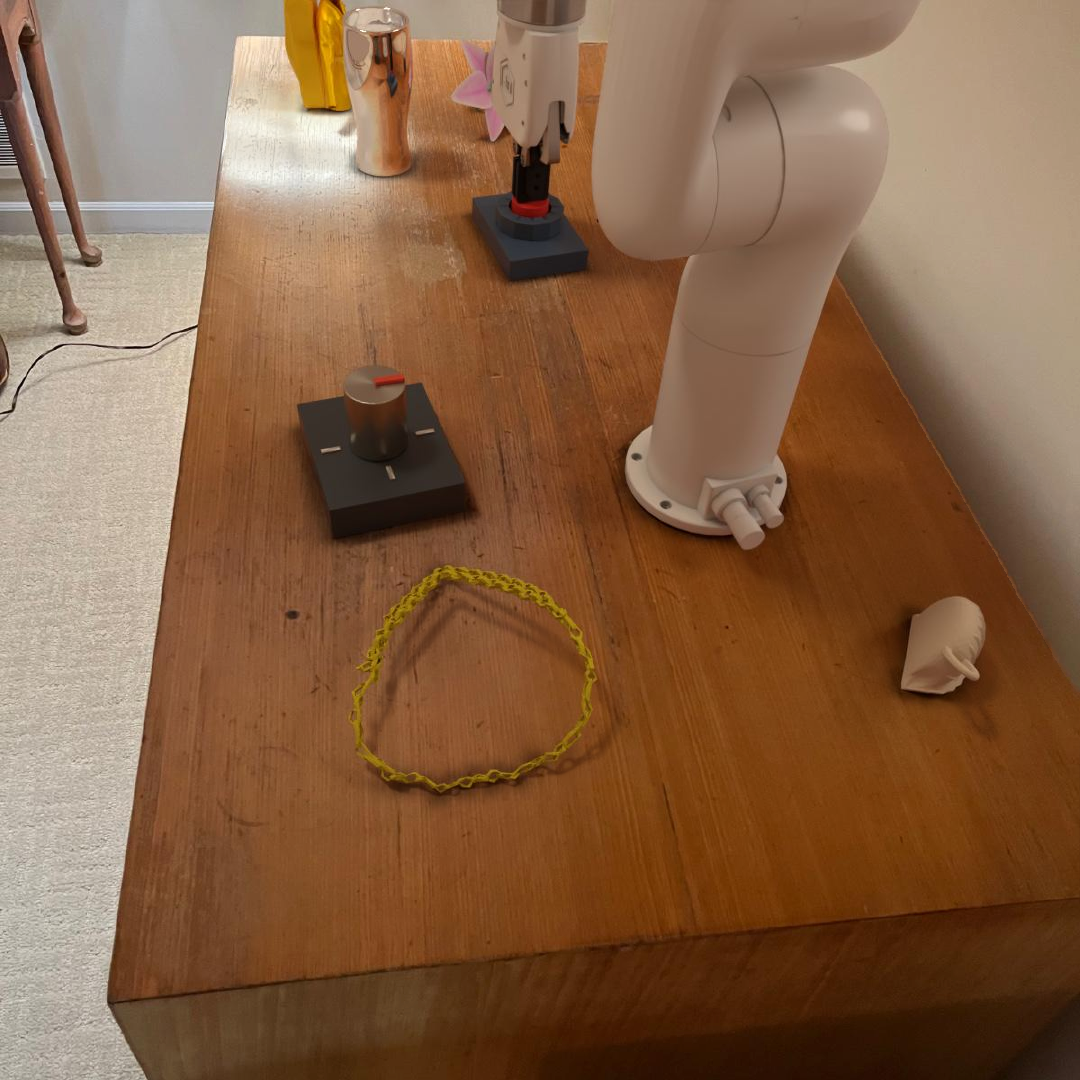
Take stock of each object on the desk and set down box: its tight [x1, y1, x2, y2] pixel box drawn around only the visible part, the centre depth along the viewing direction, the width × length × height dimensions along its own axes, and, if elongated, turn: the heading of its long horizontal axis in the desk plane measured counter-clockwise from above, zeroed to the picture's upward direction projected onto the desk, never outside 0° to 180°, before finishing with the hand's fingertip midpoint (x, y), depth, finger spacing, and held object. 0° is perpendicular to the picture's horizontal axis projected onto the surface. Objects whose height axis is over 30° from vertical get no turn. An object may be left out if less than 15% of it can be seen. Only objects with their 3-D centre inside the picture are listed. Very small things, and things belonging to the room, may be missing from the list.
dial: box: [342, 364, 408, 461], centre depth 74 cm, size 4×4×6 cm
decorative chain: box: [347, 564, 598, 794], centre depth 64 cm, size 16×15×5 cm
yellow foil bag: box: [283, 0, 352, 112], centre depth 112 cm, size 18×8×22 cm, turn 3°
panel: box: [296, 382, 467, 539], centre depth 78 cm, size 12×10×3 cm
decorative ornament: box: [900, 595, 987, 695], centre depth 67 cm, size 4×8×5 cm, turn 158°
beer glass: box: [342, 5, 414, 178], centre depth 106 cm, size 7×7×15 cm
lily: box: [450, 39, 505, 143], centre depth 117 cm, size 12×12×10 cm
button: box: [511, 196, 549, 218], centre depth 99 cm, size 4×4×2 cm
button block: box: [471, 190, 590, 282], centre depth 101 cm, size 12×8×4 cm, turn 20°
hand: (529, 197), depth 99 cm, fingers closed
